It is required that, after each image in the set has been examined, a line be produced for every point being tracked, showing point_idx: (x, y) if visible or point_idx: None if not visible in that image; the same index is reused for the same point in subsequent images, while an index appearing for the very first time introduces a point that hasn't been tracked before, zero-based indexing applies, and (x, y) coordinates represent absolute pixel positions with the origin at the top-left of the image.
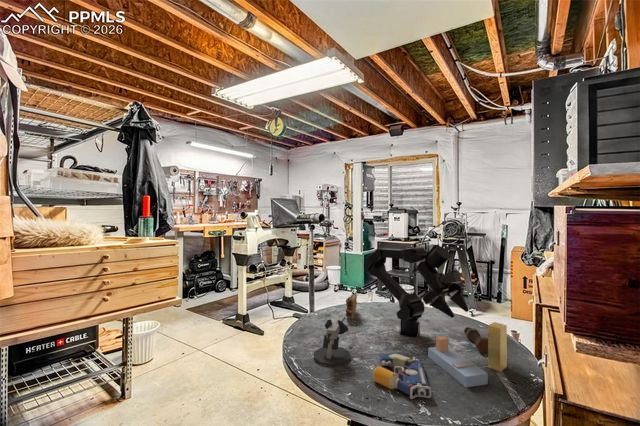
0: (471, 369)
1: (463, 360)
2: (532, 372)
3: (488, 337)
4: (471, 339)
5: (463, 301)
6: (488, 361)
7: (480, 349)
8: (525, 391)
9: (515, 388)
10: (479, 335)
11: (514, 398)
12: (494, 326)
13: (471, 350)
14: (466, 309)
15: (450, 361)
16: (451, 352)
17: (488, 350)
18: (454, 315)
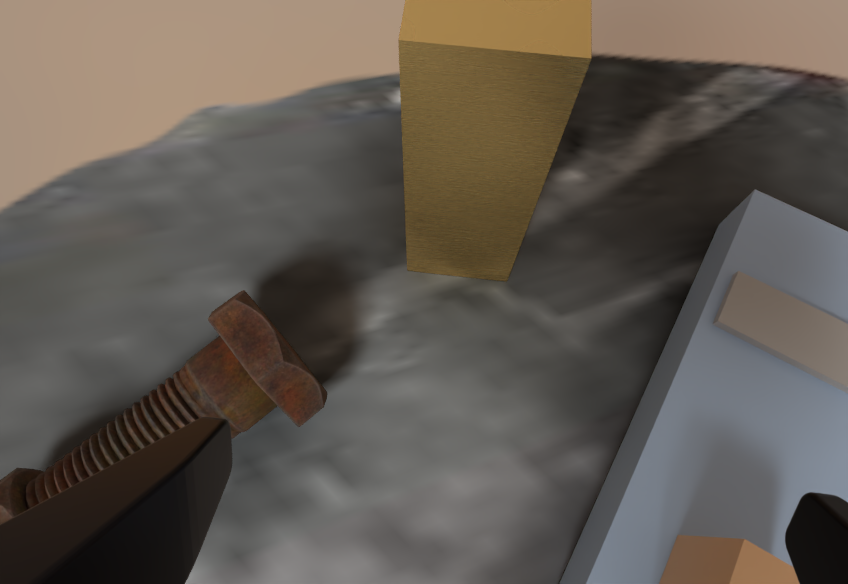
0: (803, 274)
1: (728, 363)
2: (377, 99)
3: (553, 154)
4: None
5: (77, 553)
6: (514, 261)
7: (316, 379)
8: (619, 87)
9: (631, 121)
10: (111, 434)
11: (729, 106)
12: (567, 6)
13: (312, 461)
14: (217, 456)
15: (837, 434)
16: (680, 500)
17: (528, 221)
18: (819, 493)
